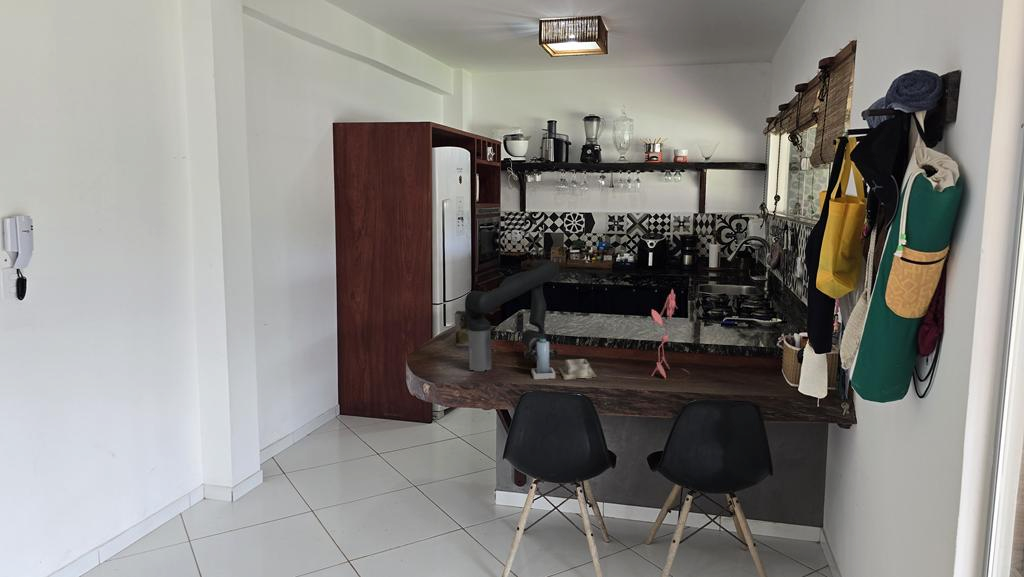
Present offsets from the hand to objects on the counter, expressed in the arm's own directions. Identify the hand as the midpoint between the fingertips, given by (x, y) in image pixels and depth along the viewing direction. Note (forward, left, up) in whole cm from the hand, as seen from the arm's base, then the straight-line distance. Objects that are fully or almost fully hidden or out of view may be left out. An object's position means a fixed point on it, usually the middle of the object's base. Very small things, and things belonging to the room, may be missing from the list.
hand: (543, 358), depth 286 cm
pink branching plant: (+51, -5, -8) cm, 52 cm away
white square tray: (0, +2, -8) cm, 8 cm away
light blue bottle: (0, +2, -8) cm, 8 cm away
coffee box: (-30, +58, -8) cm, 66 cm away
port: (+14, +2, -8) cm, 16 cm away
